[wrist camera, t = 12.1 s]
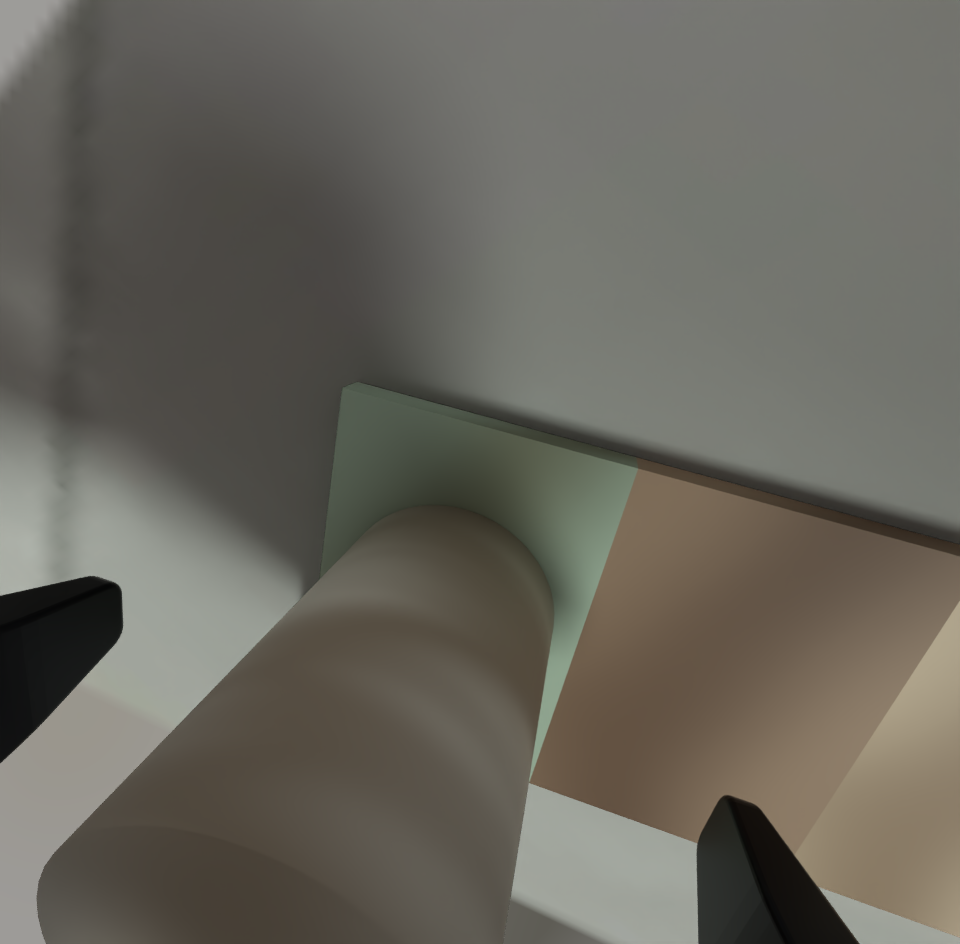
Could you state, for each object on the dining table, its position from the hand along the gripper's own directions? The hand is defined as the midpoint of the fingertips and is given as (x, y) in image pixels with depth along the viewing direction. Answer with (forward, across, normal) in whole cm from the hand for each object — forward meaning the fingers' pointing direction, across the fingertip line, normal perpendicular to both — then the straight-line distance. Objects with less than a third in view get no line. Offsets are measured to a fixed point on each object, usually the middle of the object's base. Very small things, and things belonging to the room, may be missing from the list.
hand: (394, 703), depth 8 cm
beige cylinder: (+2, 0, 0) cm, 2 cm away
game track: (+3, -5, 0) cm, 6 cm away
